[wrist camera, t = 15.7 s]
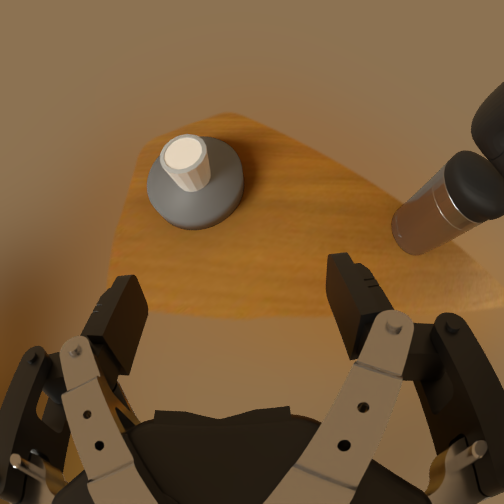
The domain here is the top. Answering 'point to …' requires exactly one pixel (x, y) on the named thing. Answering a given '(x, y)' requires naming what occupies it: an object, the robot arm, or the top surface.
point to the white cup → (187, 162)
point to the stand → (204, 200)
